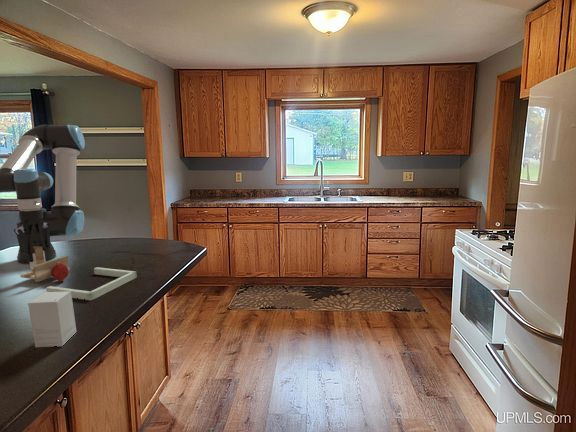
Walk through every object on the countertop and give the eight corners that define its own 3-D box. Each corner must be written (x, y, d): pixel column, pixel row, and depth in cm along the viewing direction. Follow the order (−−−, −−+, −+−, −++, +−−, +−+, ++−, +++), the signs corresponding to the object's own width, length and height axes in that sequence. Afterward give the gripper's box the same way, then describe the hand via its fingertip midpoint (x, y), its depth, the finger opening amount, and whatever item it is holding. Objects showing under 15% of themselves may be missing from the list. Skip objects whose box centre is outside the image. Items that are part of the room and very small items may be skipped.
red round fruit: (57, 278, 144) (55, 259, 143) (72, 278, 145) (70, 259, 143) (49, 284, 139) (46, 264, 137) (64, 283, 139) (62, 263, 137)
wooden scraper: (15, 279, 138) (11, 251, 136) (48, 267, 152) (45, 242, 150) (37, 281, 135) (33, 253, 133) (69, 270, 148) (66, 244, 146)
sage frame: (47, 294, 129) (46, 287, 129) (97, 273, 151) (96, 267, 150) (91, 300, 124) (90, 293, 123) (136, 277, 145) (136, 271, 145)
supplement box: (77, 332, 102) (72, 290, 100) (62, 347, 95) (56, 302, 92) (50, 333, 102) (45, 291, 99) (33, 347, 95) (26, 302, 92)
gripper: (16, 213, 131) (25, 275, 135) (56, 206, 146) (63, 262, 150) (1, 212, 133) (11, 273, 137) (42, 205, 148) (49, 261, 152)
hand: (38, 267), depth 144 cm, fingers closed on wooden scraper, 3 cm apart
